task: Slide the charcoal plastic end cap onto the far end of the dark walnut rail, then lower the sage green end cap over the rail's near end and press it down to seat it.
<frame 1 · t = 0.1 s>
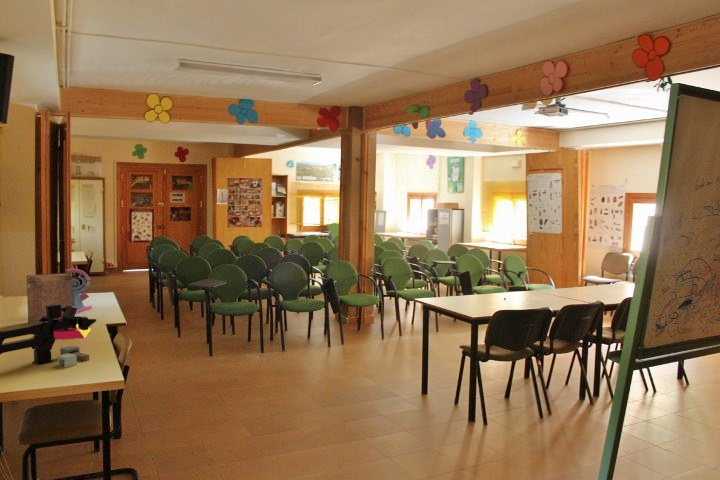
hand: (90, 318, 301), 17 cm above the table, tool horizontal, fingers open, 9 cm apart
charcoal end cap: (70, 356, 291), on the table
walnut rail: (80, 359, 286), on the table
book: (50, 322, 375), on the table
pyramid toy: (65, 336, 339), on the table
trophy: (75, 311, 412), on the table
sage green end cap: (67, 364, 277), on the table
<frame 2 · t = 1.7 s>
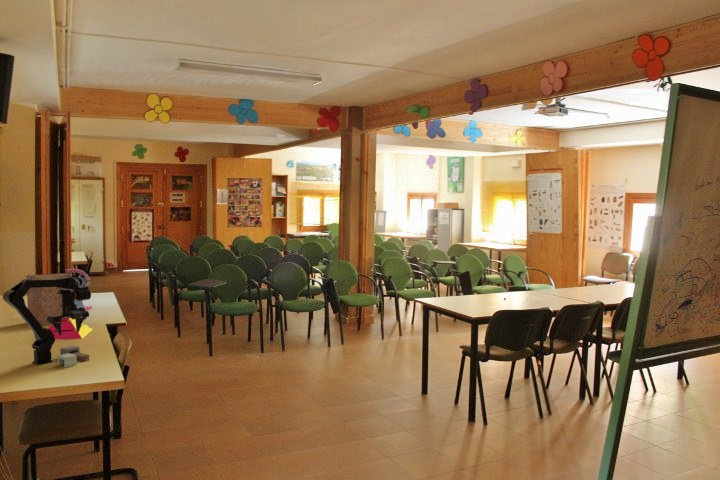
hand: (69, 333, 290), 11 cm above the table, tool pointing down, fingers open, 9 cm apart
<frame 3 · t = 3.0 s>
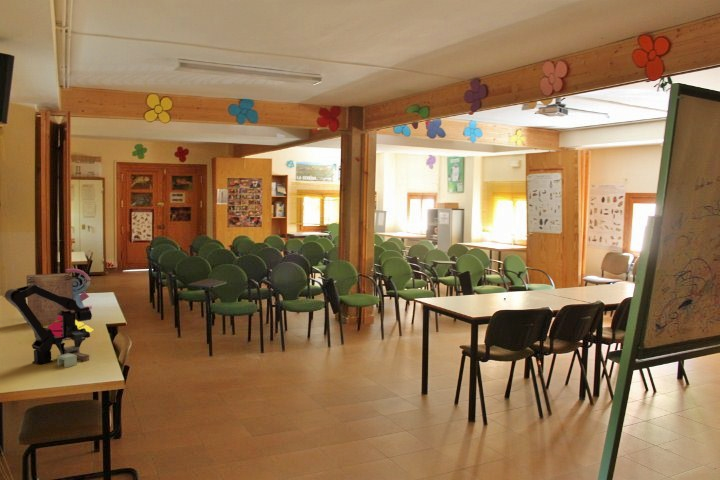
hand: (70, 354, 291), 1 cm above the table, tool pointing down, fingers closed on charcoal end cap, 7 cm apart
charcoal end cap: (70, 356, 291), on the table, touching gripper
when the fingers open (1 cm above the table, at t = 5.1 s): charcoal end cap stays where it is, on the table.
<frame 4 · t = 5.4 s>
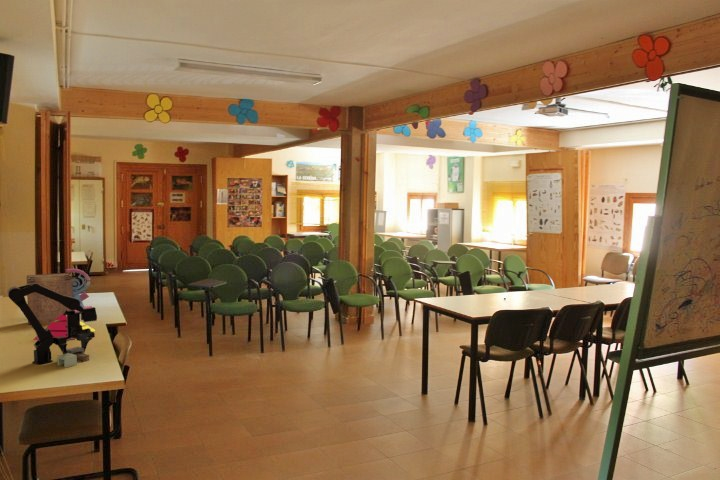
hand: (74, 354, 289), 1 cm above the table, tool pointing down, fingers open, 9 cm apart
charcoal end cap: (74, 357, 289), on the table
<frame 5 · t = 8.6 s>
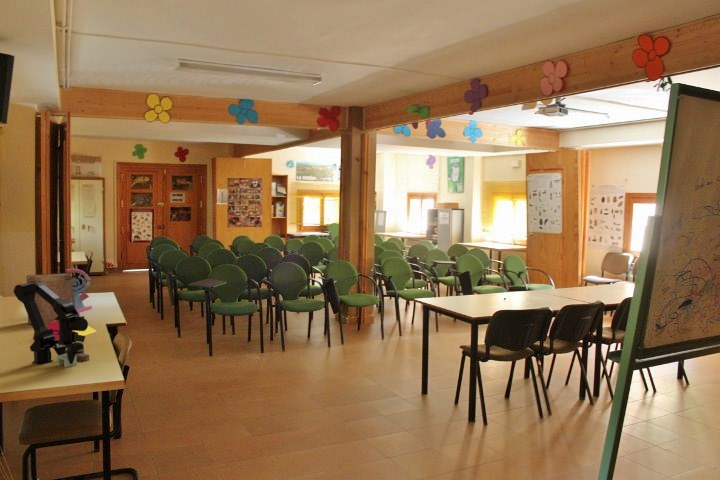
hand: (67, 362, 277), 1 cm above the table, tool pointing down, fingers closed on sage green end cap, 7 cm apart
sage green end cap: (67, 364, 277), on the table, touching gripper
when the fingers open (2 cm above the table, at t = 12.4 s): sage green end cap stays where it is, on the table.
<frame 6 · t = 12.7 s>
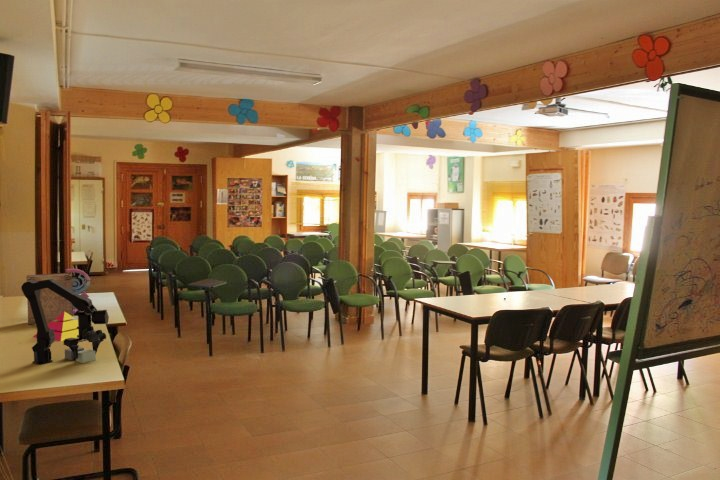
hand: (85, 356, 284), 2 cm above the table, tool pointing down, fingers open, 9 cm apart
sage green end cap: (85, 360, 284), on the table
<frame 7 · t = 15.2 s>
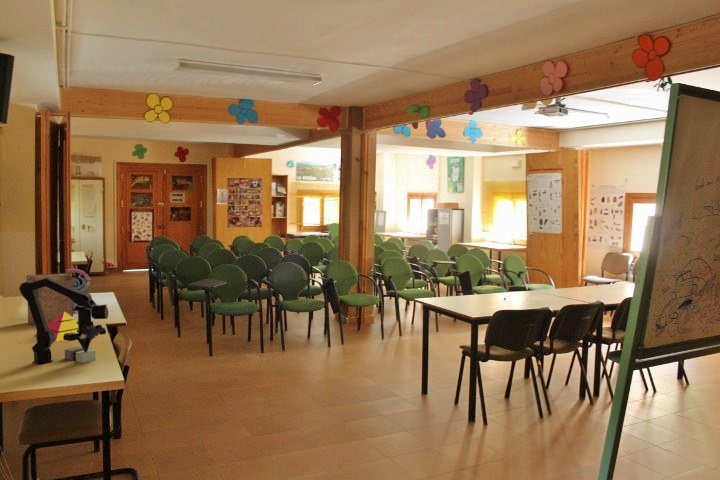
hand: (85, 351, 284), 4 cm above the table, tool pointing down, fingers closed, pressing on sage green end cap
sage green end cap: (85, 360, 284), on the table, touching gripper
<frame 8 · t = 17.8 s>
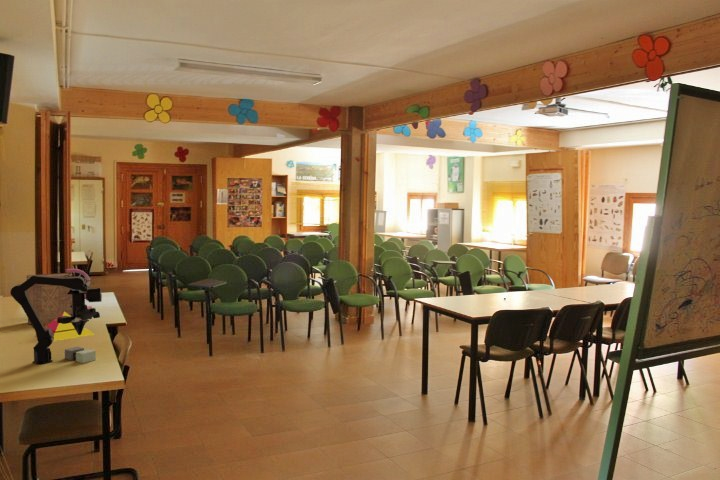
hand: (79, 334, 286), 12 cm above the table, tool pointing down, fingers closed
sage green end cap: (85, 360, 284), on the table
at the end: charcoal end cap 0.0 cm from the target spot, on the table; sage green end cap 0.1 cm from the target spot, on the table; sage green end cap tilted 0° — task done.
